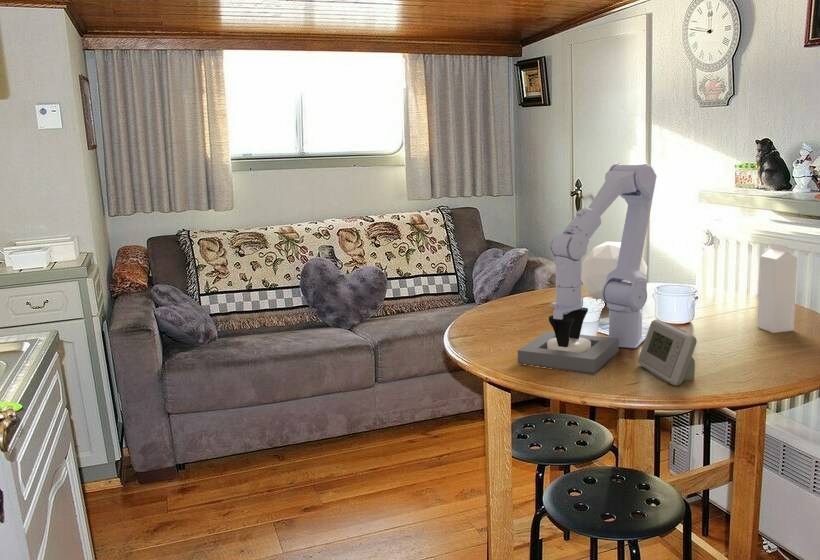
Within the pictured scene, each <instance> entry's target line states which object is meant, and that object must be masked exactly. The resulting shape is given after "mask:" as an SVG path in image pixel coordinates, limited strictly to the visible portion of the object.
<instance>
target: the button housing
mask: <svg viewBox="0 0 820 560" xmlns="http://www.w3.org/2000/svg"><path fill="white" fill-rule="evenodd" d="M580 337H581V338H585V339H588V340H590V341H591V348H590V349H589V350H588V351H586V352H585V353H577V352H568V351H560V350H551V349H547V341H548V340H550V339H552V338H556V335H555V332H554V331H548V330H547V331H545V332H543V333H542V334H540V335H539V336H537V337H535V338H534V339H533V340H531V341H529V342H528V343H526V344H525V345H523V346H522V347H520V348H519V349H518V350H517V364H518V363H519V364H526V365H533V366H539V367H546V368H552V369H551V370H553V369H558V370H557V371H561V370H565V371H564V372H568V371H571V373H576V372H577V374H585V375H591V376H592V375H593V376H595V375H596V374H597V373H598V372H599V371H600V370H602V369H603V367H605V366H606V365H607V364H608V363H610V361H612V359H614V358H615V357H616V356H617V355H618V354H619V353H620V352H619V350H620V347H619V338H609V336H608V337H607V336H598V335H597V336H596V335H587V334H580Z"/></svg>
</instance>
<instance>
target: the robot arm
mask: <svg viewBox="0 0 820 560" xmlns="http://www.w3.org/2000/svg"><path fill="white" fill-rule="evenodd" d="M657 177H658V176H657V174H656V172H655V170H654V169H653V167H652V165H650V164H649V163H625V164H624V163H619V162H618V163H613V164H612V165H611V166H610V167H609V169H608V171H606V172H605V175H604V183H603V184H602V186H601V187H600V189H599V190H598V191H597V194H596V195H595V196H594V198H593V199H592V201H591V203H590V205H588V207H584V208H581V209H578V210H577V212H576V213H575V216H574V217H573V219H572V220H571V221H570V222H569V223H568V225H567V226H566V227H565V229H564V230H563V232H560V233H557V234H556V235H555V236H554V237H553V238H552V240H551V243H550V245H549V251H550V254H551V255H552V257H553V263H554V265H555V301H553V302H551V304H550V306H551V307H554V310H552V312H553V313H552V314H553V315H552V314H551V315H549V317H548V322H549V323H550V325H551V327H552V329H553V332H555V335H556V339H557V343H558V346H559V347H568V344H569V338H575V339H579V337H580V335H581V332H582V327H583V323H584V320H585V318H586V316H587V314H588V311H589V308H588V307H583V306H584V297H582V281H581V273H582V258H583V257H584V256H585V255H586V254H587V251H588V246H589V245H588V244H589V242H590V239H591V238H592V237H593V235H594V233H595V232H596V231H597V230H598V228H599V227H600V226H601V225H602V219H601V218H602V215H603V214H604V213H605V212H606V211H607V209H609V207H610V206H611V205H612V204H613V203H614V202H615V201H616V199H617V198H618V197H619V196H620V197H621V198H622V199H624V200H625V203H626V204H627V209H626V214H625V219H624V220H625V221H624V225H623V231H622V237H621V241H620V242H621V246H620V252H619V257H618V263H617V268H615V269H614V270H613V271H611V272H610V273H609V274H608V275H607V280H606V282H605V284H604V286H603V289H602V298H603V301H604V302H605V303H607V304H606V308H608V337H609V338H619V348H624V349H625V348H626V349H637V348H638V347H639V346H640V345H641V344H643V343H644V341H645V338H646V336H643V334H642V333H643V332H642V331H643V328H642V327H643V315H642V312H641V310H643V308H644V306H645V305H646V303H647V300H648V290H647V289H648V288H647V285H648V279H647V277H646V278H645V277H644V276H643V275H642V274H641V273H640V271H639V270H640V265H641V259H642V257H643V252H644V248H645V241H646V237H647V231H648V226H649V219H650V217H651V216H650V214H651V210H652V203H653V197H654V192H655V187H656V181H657ZM623 280H628V281H630V282H631V283H628V282H622V281H623Z"/></svg>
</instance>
